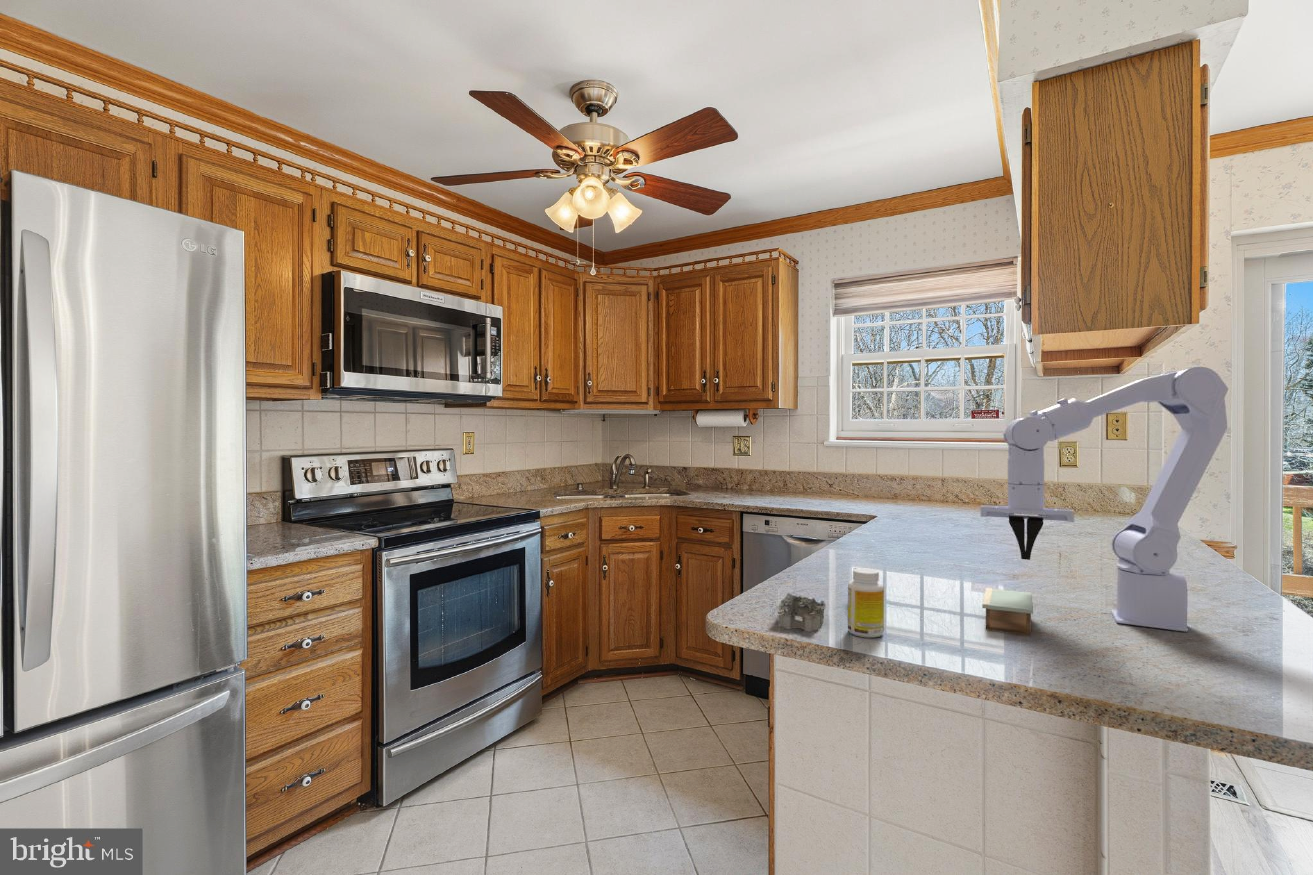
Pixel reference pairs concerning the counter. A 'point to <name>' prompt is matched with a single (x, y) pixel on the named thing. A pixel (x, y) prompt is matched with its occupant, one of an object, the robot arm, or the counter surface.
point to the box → (1008, 622)
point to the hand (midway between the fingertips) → (1025, 558)
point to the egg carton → (800, 613)
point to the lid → (1008, 600)
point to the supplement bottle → (865, 604)
